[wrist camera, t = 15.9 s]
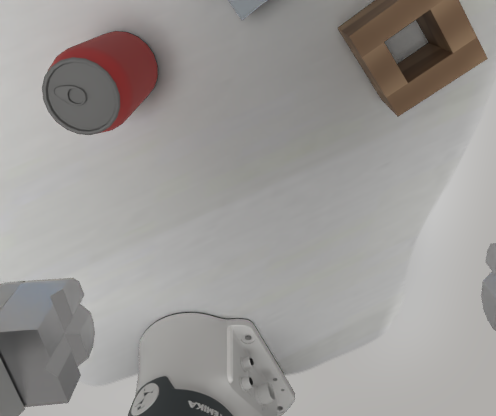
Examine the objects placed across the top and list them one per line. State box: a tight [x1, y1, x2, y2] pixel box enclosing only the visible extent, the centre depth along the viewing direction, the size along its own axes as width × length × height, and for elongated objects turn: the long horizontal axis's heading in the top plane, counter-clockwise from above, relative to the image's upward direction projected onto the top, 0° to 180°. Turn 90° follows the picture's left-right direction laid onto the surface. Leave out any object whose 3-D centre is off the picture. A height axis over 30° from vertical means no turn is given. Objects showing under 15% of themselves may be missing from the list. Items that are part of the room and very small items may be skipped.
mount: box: [338, 0, 487, 116], centre depth 39 cm, size 8×8×6 cm
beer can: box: [42, 31, 157, 135], centre depth 38 cm, size 7×7×12 cm
